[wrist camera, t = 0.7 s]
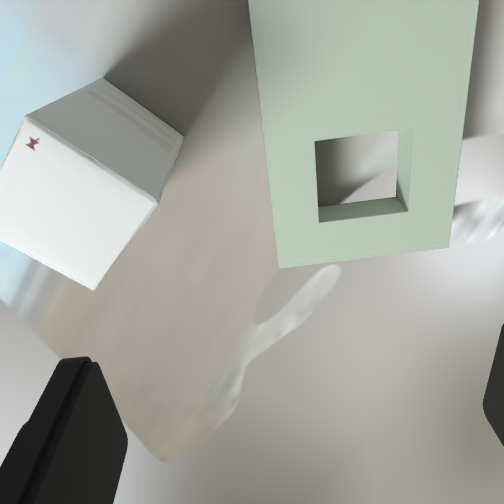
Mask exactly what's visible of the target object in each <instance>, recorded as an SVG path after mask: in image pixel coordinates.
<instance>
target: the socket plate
mask: <svg viewBox="0 0 504 504" xmlns="http://www.w3.org/2000/svg"><path fill="white" fill-rule="evenodd" d="M478 4H479V0H248V7H249V16H250V24H251V33H252V42H253V50H254V59H255V68H256V76H257V85H258V94H259V102H260V111H261V120H262V128H263V137H264V146H265V154H266V163H267V172H268V180H269V189H270V198H271V206H272V215H273V224H274V232H275V241H276V250H277V257H278V263H279V268H286V267H294V266H302V265H310V264H319V263H327V262H335V261H343V260H352V259H360V258H368V257H376V256H385V255H393V254H401V253H409V252H417V251H425V250H434V249H442V248H449V243H450V234H451V226H452V218H453V210H454V201H455V193H456V185H457V177H458V169H459V160H460V152H461V144H462V136H463V127H464V119H465V111H466V103H467V95H468V86H469V78H470V70H471V62H472V54H473V45H474V37H475V29H476V21H477V12H478ZM393 130H399V145H398V166H397V189H396V197H393V198H385V199H376V200H369V201H361V202H353V203H345V204H337V205H329V206H321V207H318V198H317V180H316V162H315V144H314V141H319V140H326V139H334V138H341V137H349V136H356V135H364V134H371V133H378V132H386V131H393Z"/></svg>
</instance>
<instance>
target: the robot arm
mask: <svg viewBox="0 0 504 504" xmlns="http://www.w3.org/2000/svg"><path fill="white" fill-rule="evenodd" d="M483 409H484V413H485V416H486V418H487V420H488V421H489V423H490V425H491V426H492V428H493V430H494V431H495V433H496V435H497V436H498V438H499V440H500V441H501V443H502V444H503V446H504V324H503V326H502V329H501V333H500V337H499V340H498V345H497V348H496V352H495V356H494V360H493V364H492V368H491V372H490V376H489V380H488V384H487V388H486V391H485V395H484V399H483ZM127 445H128V439H127V433H126V431H125V428H124V426H123V423H122V421H121V418H120V416H119V413H118V411H117V408H116V406H115V403H114V401H113V399H112V396H111V394H110V391H109V389H108V386H107V384H106V381H105V379H104V376H103V374H102V371H101V369H100V366H99V364H98V363H97V362H92V361H91V359H90V358H89V357H76V358H66V359H62V360H60V362H59V363H58V365H57V366H56V368H55V370H54V372H53V374H52V376H51V378H50V380H49V382H48V384H47V386H46V388H45V390H44V392H43V394H42V395H41V397H40V399H39V401H38V403H37V405H36V407H35V409H34V411H33V413H32V415H31V417H30V419H29V421H28V422H26V423H25V424H24V425H23V426H22V428H21V429H20V431H19V432H18V434H17V436H16V438H15V440H14V442H13V444H12V446H11V448H10V449H9V452H8V453H7V455H6V457H5V459H4V461H3V463H2V465H1V467H0V504H113V502H114V498H115V494H116V490H117V486H118V483H119V479H120V474H121V471H122V467H123V463H124V459H125V455H126V451H127Z"/></svg>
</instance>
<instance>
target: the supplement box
mask: <svg viewBox="0 0 504 504" xmlns="http://www.w3.org/2000/svg"><path fill="white" fill-rule="evenodd" d="M183 139H184V136H182V135H181V134H180V133H178V132H177V131H176V130H174V129H173V128H172V127H170V126H169V125H168V124H166V123H165V122H163V121H162V120H161V119H159V118H158V117H157V116H155V115H154V114H152V113H151V112H150V111H148V110H147V109H145V108H144V107H143V106H141V105H140V104H139V103H137V102H136V101H134V100H133V99H132V98H130V97H129V96H127V95H126V94H125V93H123V92H122V91H120V90H119V89H118V88H116V87H115V86H113V85H112V84H111V83H109V82H108V81H107V80H105V79H104V78H101V79H99V80H97V81H95V82H93V83H91V84H89V85H87V86H85V87H83V88H81V89H79V90H77V91H75V92H73V93H71V94H68V95H66V96H64V97H62V98H60V99H58V100H56V101H54V102H52V103H50V104H48V105H46V106H44V107H42V108H40V109H38V110H36V111H34V112H32V113H29V114H27V115H26V116H25V117H24V119H23V122H22V124H21V126H20V128H19V130H18V132H17V134H16V137H15V139H14V141H13V143H12V145H11V147H10V149H9V152H8V154H7V156H6V158H5V160H4V162H3V165H2V167H1V169H0V241H2V242H4V243H6V244H8V245H10V246H12V247H14V248H15V249H17V250H19V251H21V252H23V253H25V254H26V255H28V256H30V257H32V258H34V259H36V260H38V261H40V262H41V263H43V264H45V265H47V266H49V267H51V268H53V269H54V270H56V271H58V272H60V273H62V274H64V275H66V276H67V277H69V278H71V279H73V280H75V281H77V282H78V283H80V284H82V285H84V286H86V287H88V288H89V289H91V290H95V288H96V287H97V286H98V284H99V283H100V282H101V280H102V279H103V278H104V276H105V275H106V274H107V272H108V271H109V270H110V268H111V267H112V266H113V264H114V263H115V262H116V260H117V259H118V258H119V256H120V255H121V254H122V252H123V251H124V250H125V249H126V247H127V246H128V245H129V243H130V242H131V241H132V239H133V238H134V237H135V236H136V234H137V233H138V232H139V230H140V229H141V228H142V226H143V225H144V224H145V222H146V221H147V220H148V218H149V217H150V216H151V214H152V213H153V212H154V210H155V209H156V208H157V206H158V205H159V203H160V199H161V196H162V193H163V190H164V187H165V185H166V182H167V180H168V177H169V175H170V173H171V170H172V168H173V166H174V163H175V161H176V158H177V156H178V153H179V150H180V147H181V145H182V142H183Z"/></svg>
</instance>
